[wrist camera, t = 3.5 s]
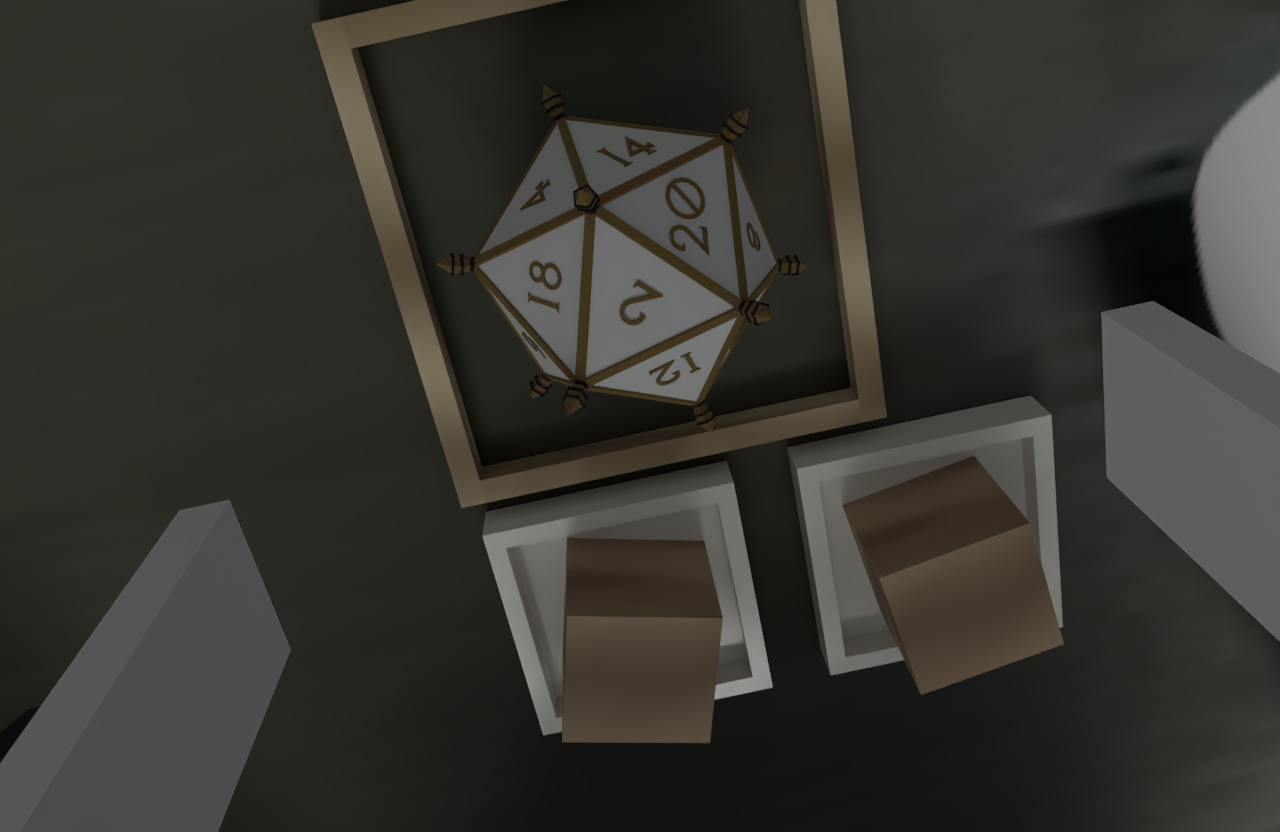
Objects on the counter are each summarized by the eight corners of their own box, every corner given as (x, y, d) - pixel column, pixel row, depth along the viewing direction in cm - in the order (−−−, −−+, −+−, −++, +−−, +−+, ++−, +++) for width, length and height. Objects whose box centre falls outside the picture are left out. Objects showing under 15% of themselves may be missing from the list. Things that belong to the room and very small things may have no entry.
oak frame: (878, 405, 34) (887, 416, 33) (464, 493, 34) (461, 508, 33) (816, -90, 28) (824, -92, 27) (319, 21, 28) (311, 23, 28)
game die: (569, 163, 34) (450, -16, 24) (834, 198, 32) (817, 17, 22) (503, 433, 33) (350, 357, 23) (774, 488, 31) (729, 428, 21)
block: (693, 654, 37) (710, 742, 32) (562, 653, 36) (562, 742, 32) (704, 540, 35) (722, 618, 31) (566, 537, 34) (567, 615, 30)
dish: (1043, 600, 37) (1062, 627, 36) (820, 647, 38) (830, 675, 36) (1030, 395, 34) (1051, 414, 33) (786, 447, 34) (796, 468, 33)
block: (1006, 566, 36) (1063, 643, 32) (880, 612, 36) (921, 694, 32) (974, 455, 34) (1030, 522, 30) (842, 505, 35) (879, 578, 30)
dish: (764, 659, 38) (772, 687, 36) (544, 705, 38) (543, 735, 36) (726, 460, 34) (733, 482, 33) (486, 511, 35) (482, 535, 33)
